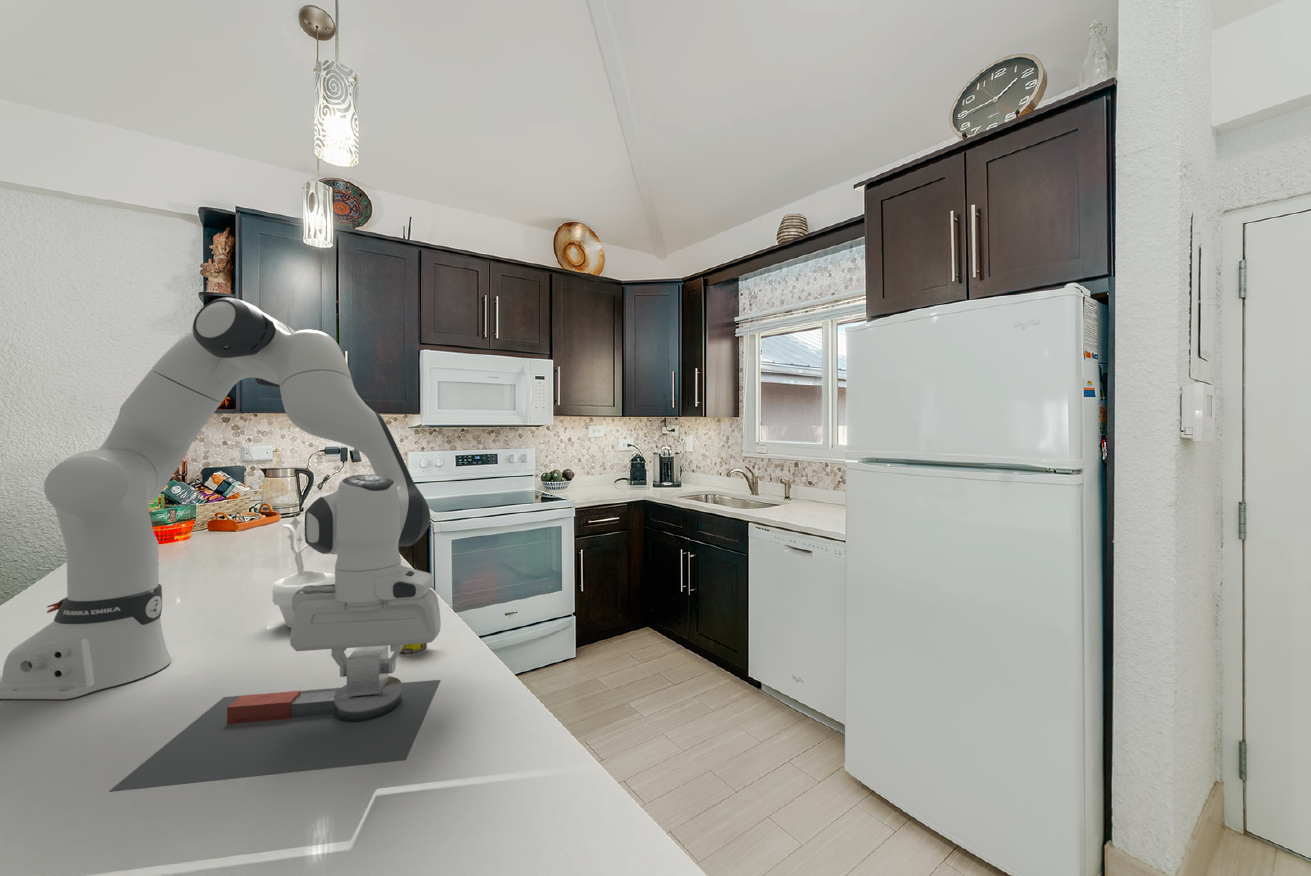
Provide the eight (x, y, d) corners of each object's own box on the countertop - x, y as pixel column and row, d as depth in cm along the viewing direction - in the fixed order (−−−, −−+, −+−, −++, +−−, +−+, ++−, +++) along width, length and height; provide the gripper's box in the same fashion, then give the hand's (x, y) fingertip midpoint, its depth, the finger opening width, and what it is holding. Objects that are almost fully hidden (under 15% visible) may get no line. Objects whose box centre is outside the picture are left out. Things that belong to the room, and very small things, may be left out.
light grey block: (346, 696, 77) (346, 659, 77) (357, 682, 82) (357, 647, 82) (379, 693, 78) (379, 656, 78) (388, 680, 83) (388, 645, 83)
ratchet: (214, 735, 72) (214, 699, 72) (251, 702, 81) (251, 669, 81) (391, 719, 77) (391, 684, 77) (408, 689, 85) (408, 658, 85)
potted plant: (267, 638, 107) (267, 515, 107) (277, 619, 118) (277, 507, 117) (339, 627, 113) (339, 511, 113) (343, 611, 123) (343, 504, 123)
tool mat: (108, 796, 61) (108, 791, 61) (224, 700, 82) (224, 696, 82) (405, 764, 67) (405, 759, 67) (440, 683, 89) (440, 679, 89)
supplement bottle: (397, 661, 97) (397, 606, 97) (393, 650, 102) (393, 598, 102) (429, 654, 100) (429, 600, 100) (424, 644, 105) (424, 593, 105)
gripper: (281, 592, 75) (281, 689, 75) (434, 585, 79) (434, 677, 79) (302, 580, 81) (301, 669, 81) (443, 574, 85) (442, 659, 85)
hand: (368, 673), depth 80 cm, fingers closed on light grey block, 4 cm apart
